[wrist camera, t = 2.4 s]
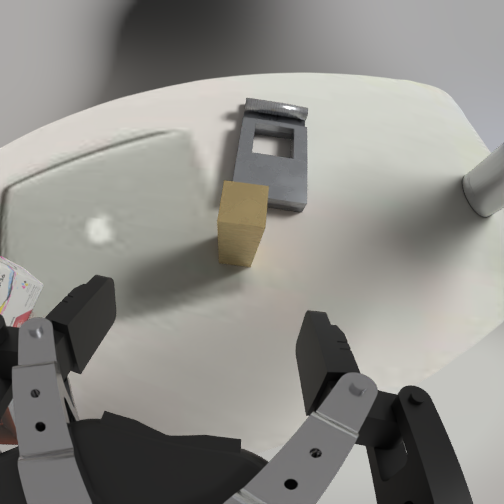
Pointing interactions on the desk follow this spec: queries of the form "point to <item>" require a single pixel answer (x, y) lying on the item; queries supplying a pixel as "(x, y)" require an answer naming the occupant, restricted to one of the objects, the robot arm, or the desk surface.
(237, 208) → the pine wood offcut
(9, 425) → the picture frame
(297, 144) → the upper end link
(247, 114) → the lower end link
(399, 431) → the robot arm
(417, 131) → the desk surface
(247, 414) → the desk surface
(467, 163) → the desk surface
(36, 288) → the ink cartridge box
